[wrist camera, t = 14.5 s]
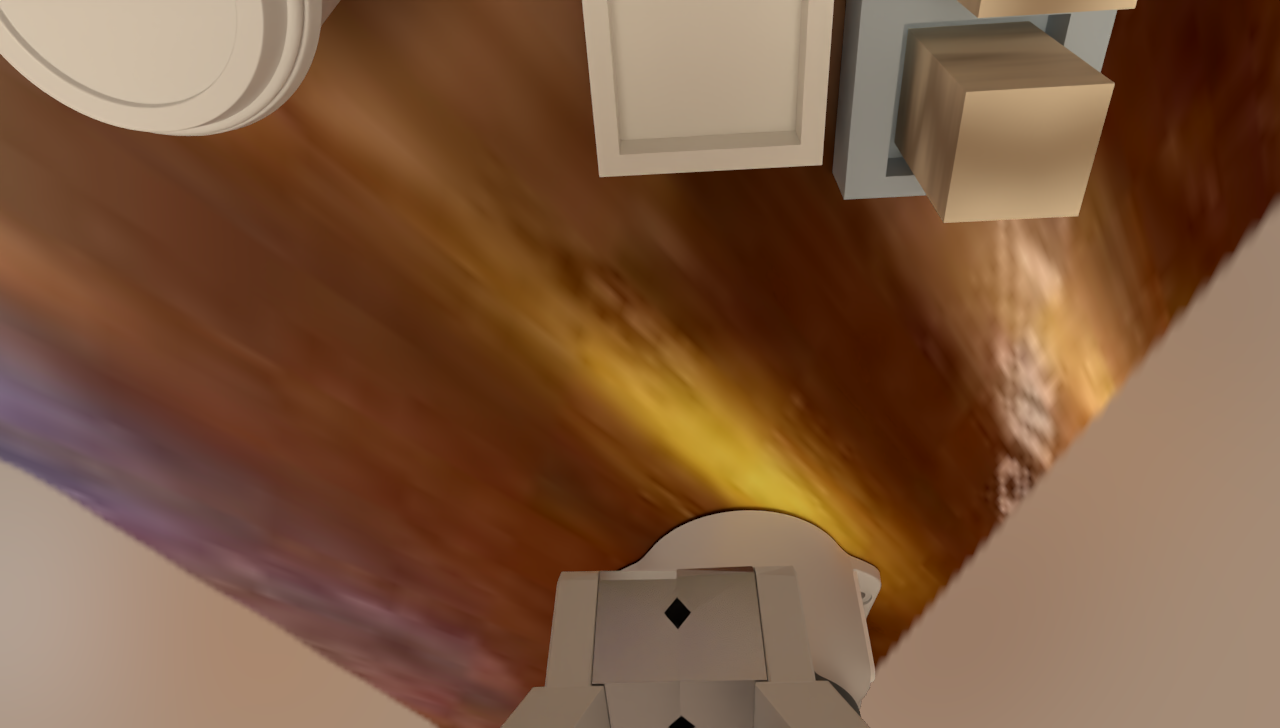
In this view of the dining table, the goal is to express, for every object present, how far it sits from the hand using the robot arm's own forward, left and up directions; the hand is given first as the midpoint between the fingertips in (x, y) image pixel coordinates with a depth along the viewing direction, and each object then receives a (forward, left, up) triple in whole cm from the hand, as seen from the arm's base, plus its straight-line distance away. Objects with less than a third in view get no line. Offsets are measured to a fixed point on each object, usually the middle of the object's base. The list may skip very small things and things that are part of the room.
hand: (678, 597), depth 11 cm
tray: (-1, -2, -31) cm, 31 cm away
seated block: (-4, -13, -30) cm, 33 cm away
